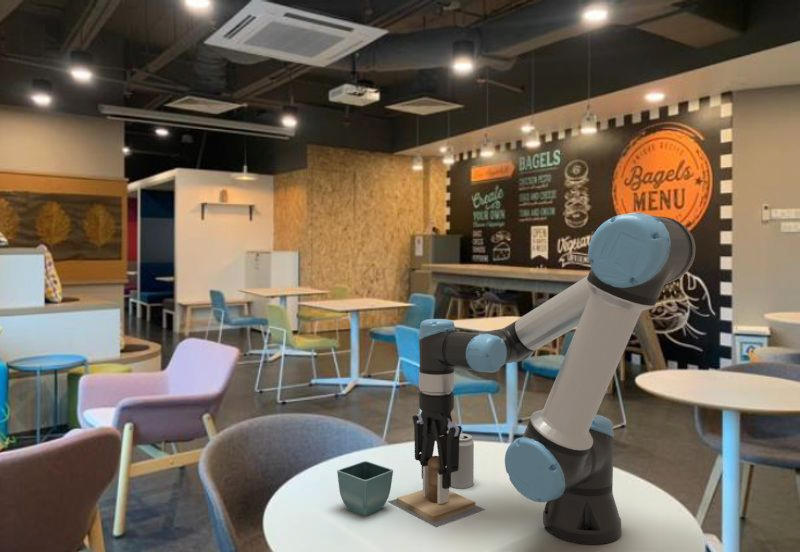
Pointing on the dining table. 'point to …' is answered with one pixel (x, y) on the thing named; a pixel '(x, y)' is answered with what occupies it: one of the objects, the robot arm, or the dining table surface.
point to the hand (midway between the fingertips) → (435, 498)
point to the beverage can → (464, 464)
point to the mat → (443, 521)
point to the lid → (435, 498)
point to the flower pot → (365, 487)
